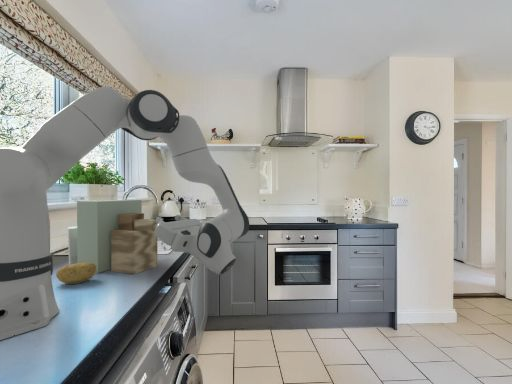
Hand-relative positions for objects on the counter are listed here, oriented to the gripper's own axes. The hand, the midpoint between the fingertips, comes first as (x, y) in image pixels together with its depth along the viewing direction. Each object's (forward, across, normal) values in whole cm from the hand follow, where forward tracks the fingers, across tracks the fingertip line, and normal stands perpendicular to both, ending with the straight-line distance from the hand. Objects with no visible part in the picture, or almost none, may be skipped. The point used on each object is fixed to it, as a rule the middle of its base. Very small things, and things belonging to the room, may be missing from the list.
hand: (167, 217), depth 101 cm
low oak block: (+4, 0, +26) cm, 26 cm away
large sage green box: (+16, 0, +33) cm, 36 cm away
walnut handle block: (+10, 0, +12) cm, 15 cm away
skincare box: (+26, +5, +39) cm, 47 cm away
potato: (+7, +20, +28) cm, 35 cm away
